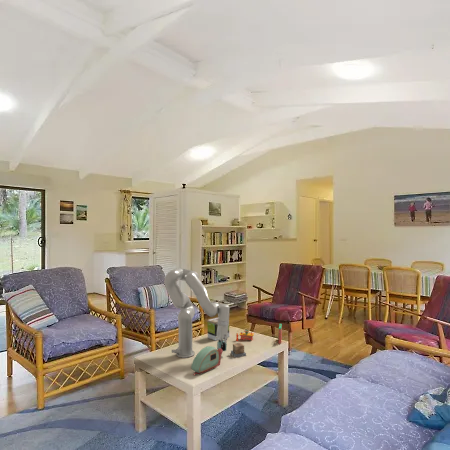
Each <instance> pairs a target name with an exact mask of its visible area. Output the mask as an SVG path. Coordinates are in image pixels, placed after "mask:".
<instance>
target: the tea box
mask: <svg viewBox="0 0 450 450" xmlns="http://www.w3.org/2000/svg"><path fill="white" fill-rule="evenodd" d="M206 322H207V323H206V324H207V338H208V339H210V340H213V341H218V338H217V327H218V317H214V318H210V319H207V321H206ZM229 337H230V324H229V325H228V338H229Z"/></svg>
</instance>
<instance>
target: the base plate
mask: <svg viewBox="0 0 450 450" xmlns="http://www.w3.org/2000/svg"><path fill="white" fill-rule="evenodd" d="M230 354H231V355H232V356H233V357H234V358H239V357H246V356H247V353H246V352H245V351H244V353H240V354H235V353H234V352H233V349H232V350H230Z"/></svg>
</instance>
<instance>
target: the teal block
mask: <svg viewBox="0 0 450 450" xmlns="http://www.w3.org/2000/svg"><path fill="white" fill-rule="evenodd" d="M223 342H224V341H223ZM221 345H222V341H217V344H216V349H217V350H218V349H221ZM227 347H228V344H227V343H226V349H225V351H224V352H227Z"/></svg>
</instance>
